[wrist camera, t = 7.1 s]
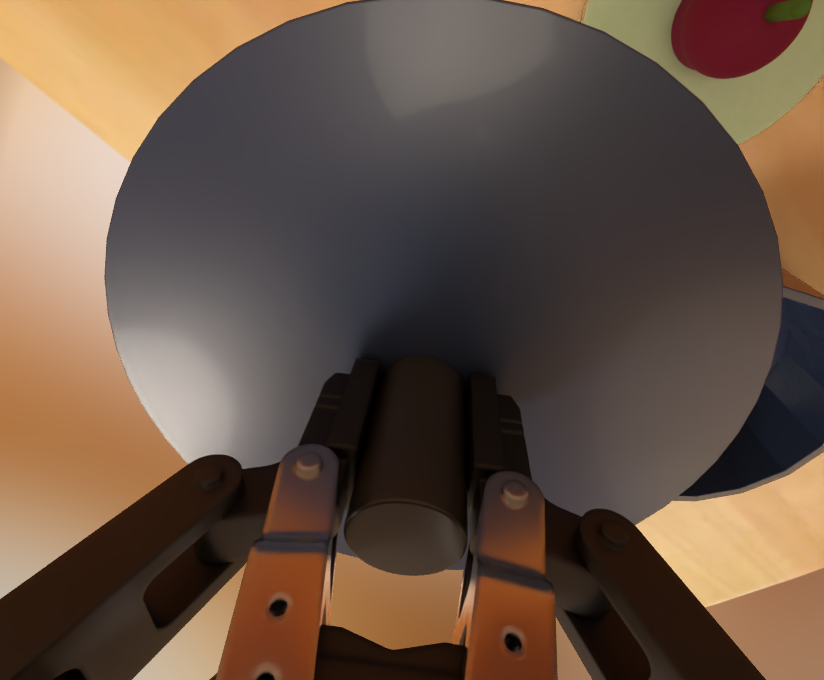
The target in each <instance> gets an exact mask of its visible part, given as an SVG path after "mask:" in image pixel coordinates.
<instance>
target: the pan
mask: <svg viewBox="0 0 824 680" xmlns="http://www.w3.org/2000/svg"><path fill="white" fill-rule="evenodd" d="M782 276H783V297H782V317H781V327H780V332H779V336H778V341H777V345H776V350H775V354H774V358H773V363H772V366H771V368H770V371H769V373H768V376H767V378H766V381H765V383H764V386H763V388H762V391H761V393H760V396H759V398H758V401H757V402H756V404H755V406H754V407H753V409H752V411H751V413H750V414H749V416H748V418H747V419H746V421H745V423H744V425H743V426H742V428H741V430H740V431H739V433H738V434H737V435H736V437H735V438H734V439H733V441H732V442H731V443H730V444H729V446H728V447H727V448H726V449H725V451H724V452H723V453H722V455H721V456H720V457H719V458H718V460H717V461H716V462H715V463H714V464H713V465H712V466H711V467H710V468H709V469H708V470H707V471H706V472H705V473H704V474H703V475H702V476H701V477H700V478H699V479H698V480H697V481H696V482H695V483H694V484H693V485H692V486H690V487H689V488H688V489H686V490H685V491H684V492H683V493H681V494H680V495H679V496H678V497H676V498H675V499H674V500H672V501H700V500H705V499H711V498H717V497H722V496H728V495H734V494H740V493H742V492H743V493H744V492H746V491H749V490H751V489H754V488H756V487H759V486H762V485H764V484H767V483H769V482H772V481H774V480H777V479H780V478H782V477H785V476H787V475H790V474H791V473H793V472H794V471H796V470H797V469H799V468H800V467H802V466H803V465H805V464H806V463H808V462H809V461H811V460H812V459H814V458H815V457H817V456H818V455H820V454H821V453H823V452H824V295H823V294H821V293H820V292H818V291H816V290H815V289H813V288H812V287H810V286H809V285H807V284H806V283H804V282H803V281H801V280H800V279H798V278H796V277H795V276H793V275H792V274H790V273H789V272H787V271H786V270H784V269H783V268H782Z"/></svg>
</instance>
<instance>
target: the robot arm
mask: <svg viewBox="0 0 824 680" xmlns="http://www.w3.org/2000/svg"><path fill="white" fill-rule="evenodd" d="M380 369H381V361H376V360H368V359H361V358H356V360H355V362H354V365H353V368H352V371H351V374H346V373H338V372H336V373H335V374H334V375H333V376H331V377H330V378H329V379H328V380H327V381H326V382H325V383H324V385H323V388H322V390H321V393H320V396H319V397H318V400H317V402H316V404H315V407H314V409H313V412H312V414H311V416H310V419H309V421H308V424H307V426H306V428H305V431H304V433H303V435H302V438H301V440H300V443H299V445H298V447H295V448H293V449H292V450H290V451H289V452H287V453H286V454H285V455H284V456H283V458H282V459H281V461H280V462H278V463H275V464H272V465H268V466H262V467H254V468H246V469H242V467H241V464H240V463H239V462H238V461H237V460H236V459H235V458H233V457H231V456H228V455H223V454H213V455H207V456H204V457H201V458H198V459H196V460H194V461H193V462H191V463H189V464H188V465H187V466H185V467H184V468H182V469H181V470H180V471H178V472H177V473H176V474H174V475H173V476H171V477H170V478H168V479H167V480H166V481H164V482H163V483H162V484H160V485H159V486H157V487H156V488H155V489H153V490H152V491H150V492H149V493H148V494H146V495H145V496H143V497H142V498H141V499H139V500H138V501H137V502H135V503H134V504H132V505H131V506H129V507H128V508H127V509H125V510H124V511H122V512H121V513H120V514H118V515H117V516H116V517H114V518H113V519H111V520H110V521H109V522H107V523H106V524H104V525H103V526H102V527H100V528H99V529H97V530H96V531H95V532H93V533H92V534H91V535H89V536H88V537H86V538H85V539H83V540H82V541H81V542H79V543H78V544H77V545H75V546H74V547H72V548H71V549H70V550H68V551H67V552H65V553H64V554H63V555H61V556H60V557H58V558H57V559H56V560H54V561H53V562H52V563H50V564H49V565H47V566H46V567H45V568H43V569H42V570H41V571H39V572H38V573H36V574H35V575H34V576H32V577H31V578H29V579H28V580H26V581H25V582H24V583H22V584H21V585H20V586H18V587H17V588H15V589H14V590H12V591H11V592H10V593H9V594H7V595H5V596H4V597H3V598H1V599H0V680H132V679H133V678H134V677H135V676H136V675H137V674H138V673H139V672H140V671H141V670H142V669H143V668H144V667H145V666H146V665H147V664H148V663H149V662H150V661H151V660H152V658H153V657H154V656H155V655H156V654H157V653H158V652H159V651H160V650H161V649H162V648H163V647H164V646H165V645H166V644H167V643H168V642H169V641H170V640H171V639H172V638H173V637H174V636H175V635H176V634H177V633H178V632H179V631H180V630H181V629H182V628H183V627H184V626H185V625H186V624H187V623H188V622H189V621H190V620H191V619H192V618H193V617H194V616H195V615H196V614H197V613H198V612H199V611H200V610H201V608H203V607H204V606H205V604H206V603H207V602H208V601H209V600H210V599H211V598H212V597H213V596H214V595H215V594H216V593H217V592H218V591H219V590H220V589H221V588H222V587H223V586H224V585H225V584H226V583H227V582H228V581H229V580H230V579H231V578H232V577H233V576H234V575H235V574H236V573H237V572H238V571H239V570H240V569H241V568H242V567H243V566H244V565H245V563H246V562H247V564H246V567H245V571H244V575H243V579H242V582H241V586H240V590H239V594H238V598H237V601H236V605H235V609H234V612H233V617H232V620H231V624H230V627H229V631H228V635H227V639H226V642H225V646H224V650H223V654H222V658H221V661H220V665H219V669H218V672H217V673H216V674H215V675H214V676H213V677H212V678H211V679H210V680H558V677H557V648H556V618H557V619H558V621H559V623H560V625H561V626H562V628H563V630H564V631H565V633H566V635H567V637H568V638H569V640H570V642H571V643H572V645H573V647H574V648H575V650H576V652H577V653H578V655H579V657H580V658H581V661H582V662H583V664H584V666H585V667H586V669H587V671H588V673H589V674H590V676H591V678H592V680H766V679H765V678H764V677H763V676H762V675H761V673H760V672H759V671H758V670H757V669H756V667H755V666H754V665H753V664H752V663H751V662H750V660H749V659H748V658H747V657H746V656H745V655H744V653H743V652H742V651H741V650H740V649H739V647H738V646H737V645H736V644H735V643H734V642H733V640H732V639H731V638H730V637H729V636H728V634H727V633H726V632H725V631H724V630H723V629H722V627H721V626H720V625H719V624H718V623H717V622H716V620H715V619H714V618H713V617H712V616H711V615H710V613H709V612H708V611H707V610H706V609H705V607H704V606H703V605H702V604H701V603H700V602H699V600H698V599H697V598H696V597H695V596H694V594H693V593H692V592H691V591H690V590H689V589H688V587H687V586H686V585H685V584H684V583H683V581H682V580H681V579H680V578H679V577H678V576H677V574H676V573H675V572H674V571H673V570H672V569H671V567H670V566H669V565H668V564H667V563H666V561H665V560H664V559H663V558H662V557H661V556H660V554H659V553H658V552H657V551H656V550H655V549H654V547H653V546H652V545H651V544H650V543H649V541H648V540H647V539H646V538H645V537H644V536H643V534H642V533H641V532H640V531H639V530H638V529H637V527H636V526H635V525H634V524H633V523H632V522H630V521H629V520H628V519H627V518H625V517H624V516H622V515H620V514H618V513H616V512H614V511H611V510H608V509H601V508H600V509H592V510H589V511H587V512H586V513H585V514H584V515H583V516H582V517H581V516H579V515H577V514H574V513H572V512H569V511H567V510H565V509H562V508H560V507H558V506H556V505H554V504H553V503H551V502H550V501H548V500H547V499H546V498H545V497H544V496H543V493H542V491H541V489H540V488H539V487H538V485H537V484H536V483H535V482H534V481H533V480H532V476H531V470H530V465H529V459H528V453H527V447H526V441H525V436H524V430H523V425H522V418H521V412H520V408H519V407H518V405H517V404H516V402H515V401H514V400H513V398H512V397H511V396H509V395H501V394H497V389H496V380H495V377H494V376H487V375H480V374H472V373H470V374H469V378H468V382H467V387H466V392H465V394H466V455H467V517H468V529H469V545H468V548H467V552H466V558H465V564H464V571H463V578H462V585H461V591H460V598H459V606H458V612H457V619H456V626H455V631H454V636H453V641H452V644H451V643H438V644H432V645H424V646H418V647H411V648H405V649H398V650H391V649H387V648H385V647H383V646H381V645H379V644H376V643H374V642H372V641H370V640H368V639H366V638H364V637H361V636H359V635H357V634H355V633H353V632H351V631H349V630H346V629H344V628H342V627H336V626H330V622H331V607H332V596H333V595H332V594H333V585H334V573H335V564H336V553H337V542H338V531H339V528H340V525H341V522H342V518H343V514H344V511H348V508H349V504H350V500H351V496H352V492H353V488H354V484H355V480H356V476H357V472H358V468H359V463H360V459H361V455H362V451H363V447H364V443H365V439H366V435H367V431H368V427H369V423H370V419H371V415H372V411H373V407H374V403H375V399H376V395H377V391H378V387H379V383H380Z"/></svg>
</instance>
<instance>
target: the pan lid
mask: <svg viewBox="0 0 824 680" xmlns="http://www.w3.org/2000/svg"><path fill="white" fill-rule="evenodd" d="M105 286H106V296H107V297H106V298H107V307H108V316H109V320H110V324H111V328H112V332H113V336H114V340H115V344H116V348H117V351H118V354H119V356H120V359H121V361H122V364H123V367H124V369H125V372H126V374H127V377H128V379H129V381H130V383H131V385H132V387H133V389H134V391H135V393H136V394H137V396H138V398H139V400H140V402H141V404H142V405H143V407H144V409H145V411H146V412H147V414H148V415H149V416H150V418H151V419H152V421H153V422H154V423H155V425H156V426H157V428H158V429H159V431H160V432H161V433H162V435H163V436H164V437H165V438H166V440H167V441H168V442H169V443H170V444H171V445H172V447H174V449H175V450H176V451H177V452H178V453H179V455H180V456H181V457H182V458H183V459H184V460H185V461H186V462H187V463H188V464H189V463H191V462H193V461H194V460H196V459H198V458H201V457H204V456H207V455H213V454H223V455H228V456H231V457H233V458H235V459H236V460H237V461H238V462H239V463H240V464H241V467H242V469H246V468H254V467H262V466H268V465H272V464H275V463H278V462H280V461H281V459H282V458H283V456H284V455H285V454H286V453H287V452H289V451H290V450H292V449H293V448H295V447H298V445H299V443H300V440H301V438H302V435H303V433H304V431H305V428H306V426H307V424H308V421H309V419H310V416H311V414H312V412H313V409H314V407H315V404H316V402H317V400H318V397H319V396H320V393H321V390H322V388H323V385H324V383H325V382H326V381H327V380H328V379H329V378H330V377H331V376H333V375H334V374H335V373H336V372H338V373H346V374H351V371H352V368H353V365H354V362H355V360H356V358H361V359H368V360H376V361H381V369H380V383H379V387H378V391H377V395H376V399H375V403H374V407H373V411H372V415H371V419H370V423H369V427H368V431H367V435H366V439H365V443H364V447H363V451H362V455H361V459H360V463H359V468H358V472H357V476H356V480H355V484H354V488H353V492H352V496H351V500H350V504H349V508H348V511H344V514H343V518H342V522H341V525H340V528H339V531H338V542H337V552H339V553H342V554H346V555H350V556H353V557H358V558H359V559H361V560H362V561H364V562H365V563H367V564H369V565H371V566H373V567H375V568H377V569H380V570H383V571H386V572H390V573H394V574H399V575H409V576H418V575H429V574H434V573H438V572H441V571H444V570H447V569H448V570H464V564H465V558H466V552H467V548H468V545H469V529H468V517H467V455H466V394H465V392H466V387H467V382H468V378H469V374H470V373H472V374H480V375H487V376H494V377H495V380H496V389H497V394H501V395H509V396H511V397H512V398H513V400H514V401H515V402H516V404H517V405H518V407H519V408H520V412H521V418H522V425H523V430H524V436H525V441H526V447H527V453H528V459H529V465H530V470H531V476H532V480H533V481H534V482H535V483H536V484H537V485H538V487H539V488H540V489H541V491H542V493H543V496H544V497H545V498H546V499H547V500H548V501H550V502H551V503H553V504H554V505H556V506H558V507H560V508H562V509H565V510H567V511H569V512H572V513H574V514H577V515H579V516H581V517H582V516H583V515H584V514H585V513H586V512H587V511H589V510H592V509H600V508H601V509H608V510H611V511H614V512H616V513H618V514H620V515H622V516H624V517H625V518H627V519H628V520H629V521H630V522H632V523H633V524H634V525H636V524H638V523H639V522H641V521H642V520H644V519H646V518H647V517H649V516H650V515H652V514H654V513H655V512H657V511H658V510H660V509H662V508H663V507H665V506H666V505H667V504H669V503H670V502H671V501H672V500H674V499H675V498H676V497H678V496H679V495H680V494H681V493H683V492H684V491H685V490H686V489H688V488H689V487H690V486H692V485H693V484H694V483H695V482H696V481H697V480H698V479H699V478H700V477H701V476H702V475H703V474H704V473H705V472H706V471H707V470H708V469H709V468H710V467H711V466H712V465H713V464H714V463H715V462H716V461H717V460H718V458H719V457H720V456H721V455H722V453H723V452H724V451H725V449H726V448H727V447H728V446H729V444H730V443H731V442H732V441H733V439H734V438H735V437H736V435H737V434H738V433H739V431H740V430H741V428H742V426H743V425H744V423H745V421H746V419H747V418H748V416H749V414H750V413H751V411H752V409H753V407H754V406H755V404H756V402H757V401H758V398H759V396H760V393H761V391H762V388H763V386H764V383H765V381H766V378H767V376H768V373H769V371H770V368H771V366H772V363H773V358H774V354H775V350H776V345H777V341H778V336H779V332H780V327H781V317H782V297H783V276H782V268H781V260H780V253H779V245H778V237H777V234H776V231H775V228H774V225H773V222H772V218H771V215H770V212H769V209H768V206H767V203H766V200H765V197H764V194H763V190H762V189H761V187H760V185H759V183H758V181H757V179H756V178H755V176H754V174H753V172H752V170H751V168H750V167H749V165H748V163H747V161H746V159H745V157H744V155H743V154H742V152H741V150H740V148H739V146H738V145H737V143H736V142H735V141H734V140H733V138H732V137H731V136H730V135H729V133H728V132H727V131H726V130H725V129H724V127H723V126H722V125H721V124H720V122H719V121H718V120H717V119H716V117H715V116H714V115H713V114H712V112H711V111H710V110H709V109H708V108H707V106H706V105H705V104H704V103H703V101H701V100H700V99H699V98H698V97H697V96H696V95H694V94H693V93H692V92H691V91H690V90H689V89H687V88H686V87H685V86H684V85H683V84H682V83H680V82H679V81H678V80H677V79H676V78H675V77H673V76H672V75H671V74H670V73H669V72H668V71H666V70H665V69H664V68H663V67H662V66H661V65H659V64H658V63H657V62H655V61H653V60H652V59H650V58H648V57H647V56H645V55H643V54H642V53H640V52H638V51H636V50H635V49H633V48H631V47H630V46H628V45H626V44H625V43H623V42H621V41H620V40H618V39H616V38H614V37H613V36H611V35H609V34H608V33H606V32H604V31H602V30H599V29H597V28H594V27H591V26H589V25H586V24H584V23H581V22H578V21H576V20H573V19H570V18H568V17H565V16H562V15H560V14H557V13H555V12H552V11H549V10H547V9H544V8H540V7H535V6H530V5H525V4H520V3H515V2H510V1H504V0H360V1H352V2H347V3H343V4H340V5H337V6H334V7H331V8H327V9H324V10H321V11H318V12H315V13H312V14H308V15H305V16H302V17H299V18H296V19H292V20H289V21H287V22H285V23H283V24H281V25H279V26H277V27H275V28H273V29H271V30H270V31H268V32H266V33H264V34H262V35H260V36H258V37H256V38H254V39H252V40H250V41H248V42H246V43H244V44H242V45H240V46H238V47H236V48H235V49H234V50H233V51H231V52H230V53H229V54H227V55H226V56H225V57H223V58H222V59H221V60H219V61H218V62H217V63H215V64H214V65H213V66H211V67H210V68H209V69H207V70H206V71H205V72H203V73H202V74H201V75H199V76H198V77H197V78H195V79H194V80H193V81H192V82H191V83H190V84H189V85H188V86H187V87H186V89H185V90H184V91H183V92H182V93H181V94H180V95H179V96H178V97H177V98H176V99H175V100H174V101H173V103H172V104H171V105H170V106H169V107H168V108H167V109H166V110H165V111H164V112H163V113H162V114H161V116H160V117H159V118H158V119H157V121H156V122H155V124H154V126H153V127H152V129H151V130H150V132H149V133H148V135H147V136H146V138H145V140H144V141H143V143H142V144H141V146H140V147H139V149H138V150H137V152H136V154H135V155H134V157H133V159H132V161H131V164H130V166H129V168H128V171H127V173H126V176H125V178H124V180H123V183H122V185H121V188H120V190H119V192H118V195H117V197H116V201H115V205H114V210H113V214H112V218H111V222H110V227H109V231H108V236H107V244H106V261H105Z"/></svg>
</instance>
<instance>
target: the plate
mask: <svg viewBox="0 0 824 680" xmlns="http://www.w3.org/2000/svg"><path fill="white" fill-rule="evenodd" d="M681 1H682V0H586V1H585V5H584V8H583V14H582V19H581V23H584V24H586V25H589V26H591V27H594V28H597V29H599V30H602V31H604V32H606V33H608V34H609V35H611V36H613V37H614V38H616V39H618V40H620V41H621V42H623V43H625V44H626V45H628V46H630V47H631V48H633V49H635V50H636V51H638V52H640V53H642V54H643V55H645V56H647V57H648V58H650V59H652V60H653V61H655V62H657V63H658V64H659V65H661V66H662V67H663V68H664V69H665V70H666V71H668V72H669V73H670V74H671V75H672V76H673V77H675V78H676V79H677V80H678V81H679V82H680V83H682V84H683V85H684V86H685V87H686V88H687V89H689V90H690V91H691V92H692V93H693V94H694V95H696V96H697V97H698V98H699V99H700V100H701V101H703V103H704V104H705V105H706V106H707V108H708V109H709V110H710V111H711V112H712V114H713V115H714V116H715V117H716V119H717V120H718V121H719V122H720V124H721V125H722V126H723V127H724V129H725V130H726V131H727V132H728V133H729V135H730V136H731V137H732V138H733V140H734V141H735V142H736V143H737V145H738V144H740V143H743V142H745V141H746V140H748V139H750V138H752V137H753V136H755V135H757V134H759V133H761V132H762V131H763V130H765V129H766V128H768V127H769V126H771V125H772V124H774V123H775V122H776V121H778V120H779V119H780V118H781V117H783V116H784V115H785V114H786V113H787V112H789V111H790V110H791V109H792V108H793V107H794V106H795V105H796V104H797V103H798V102H799V101H800V100H801V99H802V98H803V97H804V96H805V95H806V94H807V93H809V91H810V90H811V89H812V88H813V87H814V85H815V84H816V83H817V82H818V81H819V80H820V78H821V77H822V76H823V75H824V0H813V3H812V7H811V10H810V13H809V16H808V18H807V21H806V22H805V24H804V26H803V28H802V30H801V31H800V33H799V34H798V36H797V37H796V38H795V40H794V41H793V42H792V43H791V45H790V46H789V47H788V48H787V49H786V50H785V51H784V52H783V53H782V54H781V55H780V56H778V57H777V58H776V59H775V60H773V61H772V62H771V63H769V64H767V65H766V66H764V67H763V68H761V69H759V70H757V71H755V72H753V73H750V74H747V75H744V76H741V77H737V78H729V79H717V78H712V77H708V76H705V75H702V74H701V73H699V72H697V71H696V70H692V69H690V68H687V67H686V66H684V65H683V64H682V63H681V62H680V61H679V60H678V59H677V57H676V55H675V54H674V51H673V48H672V43H671V29H672V24H673V20H674V16H675V14H676V11H677V9H678V7H679V5H680V3H681Z"/></svg>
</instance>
